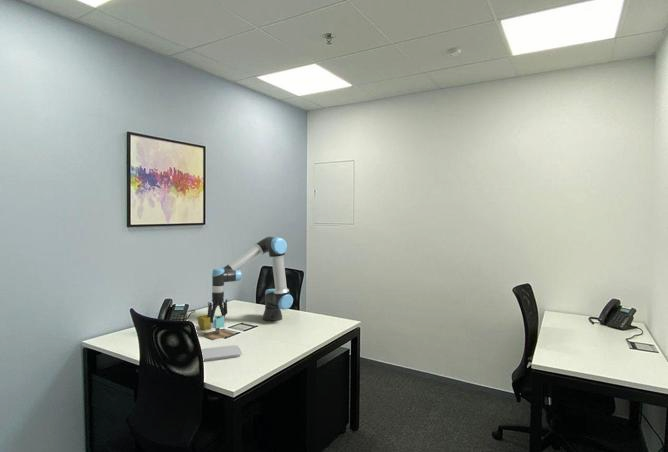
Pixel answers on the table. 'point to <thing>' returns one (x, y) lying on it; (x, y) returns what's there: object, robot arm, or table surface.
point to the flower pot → (204, 322)
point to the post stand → (217, 334)
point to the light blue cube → (218, 322)
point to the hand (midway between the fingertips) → (217, 326)
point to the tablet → (221, 352)
